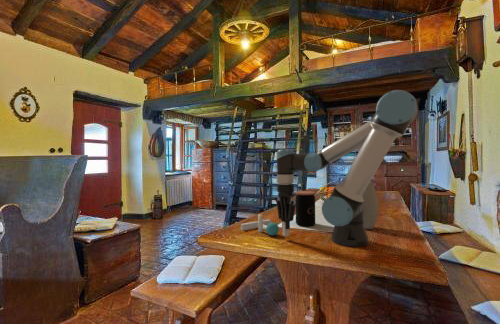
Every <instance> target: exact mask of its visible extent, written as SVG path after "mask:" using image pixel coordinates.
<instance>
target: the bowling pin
mask: <svg viewBox="0 0 500 324" xmlns="http://www.w3.org/2000/svg"><path fill="white" fill-rule="evenodd" d="M363 195H364V227H365V230H373V229H374V228H375V227H376V224H377V221H378V220H377V219H378V215H379V209H380V208H379V199H378V195H377V191H376V189H375V186H374V184H373V181H372V180H371V181H370V183H369V184H368V186H367V188H366V189H365V191H364V193H363Z"/></svg>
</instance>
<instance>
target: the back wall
mask: <svg viewBox="0 0 500 324" xmlns="http://www.w3.org/2000/svg"><path fill="white" fill-rule="evenodd" d="M269 223H272V220H271V219H269V218H268V219H263V224H264V225H266V226H267V225H268V224H269ZM254 229H258V220H257V221H250V222H245V223H240V230H241V231H248V230H254Z"/></svg>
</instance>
